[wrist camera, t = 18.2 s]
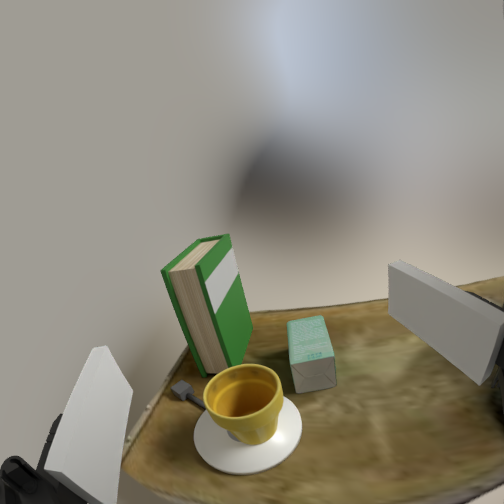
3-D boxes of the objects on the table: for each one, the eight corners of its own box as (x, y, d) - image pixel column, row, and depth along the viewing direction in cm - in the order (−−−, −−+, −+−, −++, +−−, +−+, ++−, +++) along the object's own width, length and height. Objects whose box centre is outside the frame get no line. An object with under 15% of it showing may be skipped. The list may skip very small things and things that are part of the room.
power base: (322, 413, 37) (321, 405, 36) (255, 494, 25) (252, 489, 24) (209, 367, 54) (206, 360, 53) (147, 414, 42) (143, 407, 42)
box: (325, 341, 54) (322, 312, 52) (337, 386, 41) (335, 356, 39) (291, 348, 55) (285, 319, 53) (295, 394, 42) (289, 365, 40)
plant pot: (280, 460, 29) (267, 423, 26) (212, 448, 32) (188, 410, 30) (296, 406, 38) (288, 364, 35) (236, 401, 42) (220, 360, 39)
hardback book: (236, 377, 50) (199, 264, 42) (202, 377, 51) (160, 270, 44) (253, 327, 66) (229, 233, 59) (224, 329, 68) (197, 239, 61)
